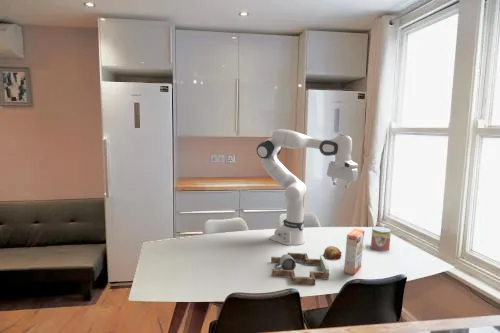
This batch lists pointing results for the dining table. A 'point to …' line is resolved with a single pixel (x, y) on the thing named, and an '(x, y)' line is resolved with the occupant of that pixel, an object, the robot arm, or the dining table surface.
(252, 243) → the dining table surface
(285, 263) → the ceramic mug
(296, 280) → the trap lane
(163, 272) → the dining table surface
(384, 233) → the canned food
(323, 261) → the sage end wall
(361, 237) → the cracker box
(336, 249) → the bread roll
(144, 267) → the dining table surface
